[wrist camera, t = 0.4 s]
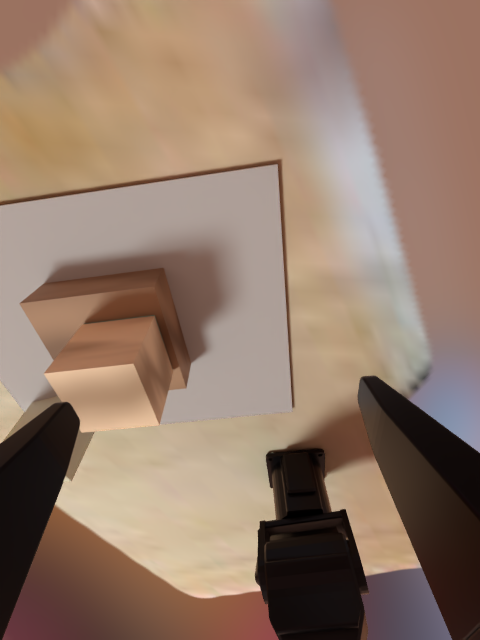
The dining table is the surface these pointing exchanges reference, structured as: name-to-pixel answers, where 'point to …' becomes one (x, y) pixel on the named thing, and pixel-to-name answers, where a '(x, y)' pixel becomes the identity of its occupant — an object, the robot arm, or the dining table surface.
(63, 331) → the plinth
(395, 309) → the dining table surface
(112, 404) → the maple block
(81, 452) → the beige rectangular block
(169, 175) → the dining table surface
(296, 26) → the dining table surface
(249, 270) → the mat
